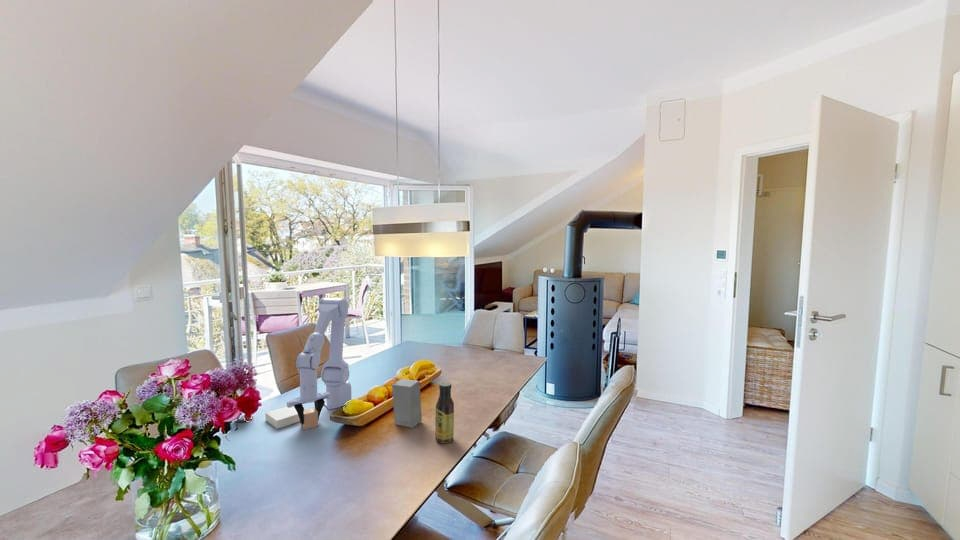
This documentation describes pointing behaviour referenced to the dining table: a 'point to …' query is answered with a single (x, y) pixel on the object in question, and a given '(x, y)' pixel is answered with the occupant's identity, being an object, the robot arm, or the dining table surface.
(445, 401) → the sauce bottle
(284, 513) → the dining table surface
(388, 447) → the dining table surface
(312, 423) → the wooden block
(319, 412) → the robot arm
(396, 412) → the skincare box
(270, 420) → the marble slab
